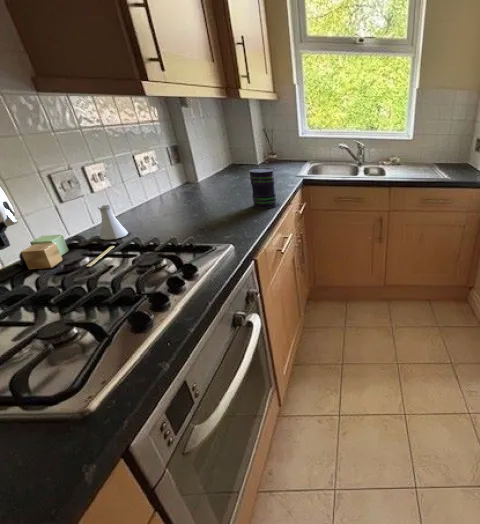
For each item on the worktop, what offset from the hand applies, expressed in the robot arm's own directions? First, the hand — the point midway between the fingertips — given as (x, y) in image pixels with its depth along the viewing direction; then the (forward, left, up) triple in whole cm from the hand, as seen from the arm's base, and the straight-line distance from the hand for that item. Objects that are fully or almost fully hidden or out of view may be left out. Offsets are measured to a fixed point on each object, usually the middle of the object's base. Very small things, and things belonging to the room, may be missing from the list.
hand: (2, 247), depth 84 cm
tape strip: (+19, +4, -5) cm, 20 cm away
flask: (+16, +20, -6) cm, 26 cm away
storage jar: (+61, +50, -6) cm, 79 cm away
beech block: (+8, 0, -5) cm, 9 cm away
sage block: (+6, +7, -5) cm, 11 cm away
